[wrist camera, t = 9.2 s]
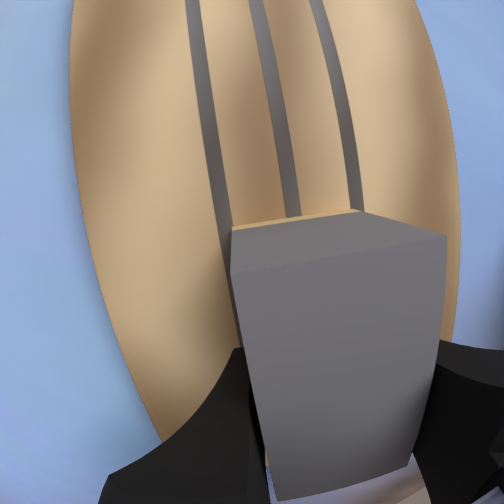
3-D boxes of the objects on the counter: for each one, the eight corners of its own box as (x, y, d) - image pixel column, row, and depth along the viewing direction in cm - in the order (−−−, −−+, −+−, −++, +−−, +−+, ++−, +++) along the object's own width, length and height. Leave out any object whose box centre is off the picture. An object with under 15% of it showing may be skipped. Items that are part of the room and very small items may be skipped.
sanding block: (352, 208, 10) (447, 235, 5) (357, 379, 11) (407, 465, 6) (231, 226, 10) (230, 273, 5) (262, 399, 11) (277, 501, 6)
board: (367, -56, 8) (377, -71, 6) (421, 403, 14) (433, 418, 12) (92, -32, 8) (81, -47, 6) (182, 453, 14) (179, 473, 12)
